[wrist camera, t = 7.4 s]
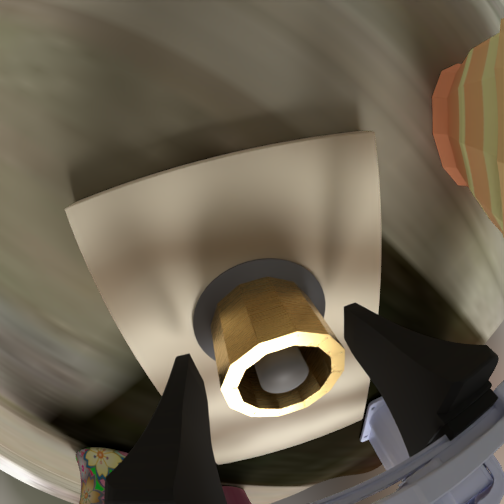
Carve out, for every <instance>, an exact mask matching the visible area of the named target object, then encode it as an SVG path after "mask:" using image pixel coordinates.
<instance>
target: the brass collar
mask: <svg viewBox="0 0 504 504" xmlns="http://www.w3.org/2000/svg"><path fill="white" fill-rule="evenodd" d="M211 332H212V339H213V346H214V352H215V358H216V364H217V370H218V376H219V382H220V387H221V391H222V393H223V395H224V397H225V399H226V401H227V403H228V405H229V407H230V408H233V409H235V410H237V411H239V412H242V413H244V414H246V415H249V416H251V417H268V416H281V415H284V414H288V413H291V412H294V411H297V410H300V409H303V408H305V407H308V406H309V405H311V404H312V403H313V402H315V401H316V400H318V399H319V398H321V397H322V396H323V395H325V394H326V393H328V392H329V391H330V390H331V389H332V387H333V386H334V384H335V383H336V382H337V380H338V379H339V377H340V376H341V374H342V373H343V371H344V366H345V349H344V347H343V346H342V344H341V343H340V341H339V340H338V338H337V337H336V336H335V334H334V333H333V331H332V330H331V328H330V327H329V325H328V324H327V323H326V321H325V320H324V318H323V317H322V315H321V314H320V312H319V311H318V310H317V308H316V307H315V305H314V304H313V302H312V301H311V300H310V298H309V297H308V296H307V295H306V294H305V293H304V292H303V291H302V290H301V289H300V288H299V287H298V286H297V285H296V284H295V283H294V282H293V281H288V280H283V279H278V278H273V277H264V278H260V279H257V280H253V281H250V282H246V283H243V284H239V285H238V286H237V287H235V288H234V289H233V290H232V291H231V292H230V293H229V294H228V295H226V296H225V297H224V298H223V299H222V300H221V301H220V302H219V303H218V304H217V307H216V310H215V313H214V316H213V320H212V323H211ZM293 345H297V347H298V349H299V351H300V353H301V355H302V357H303V359H304V361H305V362H306V364H307V366H308V370H309V372H308V376H307V378H306V379H305V380H304V382H303V383H302V384H300V385H299V386H298V387H296V388H294V389H292V390H290V391H287V392H283V393H270V392H267V391H265V390H264V389H263V388H262V387H261V385H260V381H259V378H258V375H257V372H256V369H255V366H254V363H255V362H257V361H258V360H259V359H261V358H262V357H263V356H265V355H266V354H268V353H271V352H275V351H278V350H281V349H284V348H287V347H290V346H293Z"/></svg>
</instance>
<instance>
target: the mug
mask: <svg viewBox="0 0 504 504" xmlns="http://www.w3.org/2000/svg"><path fill="white" fill-rule="evenodd" d="M127 454H128V453H126V452H123V451H119V450H114V449H108V448H100V447H90V448H84V449H81V450H80V451H78V452H77V454H76V460H77V462H78V466H79V469H80V474H81V496H80V502H79V504H104V489H105V479H106V476H108V475H109V474H110V473H111V472H112V471H113V470H114V469H115V468H116V467H117V466H118V465H119V464H120V463H121V462H122V460H123V459H124V458H125V457H126V456H127Z"/></svg>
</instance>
